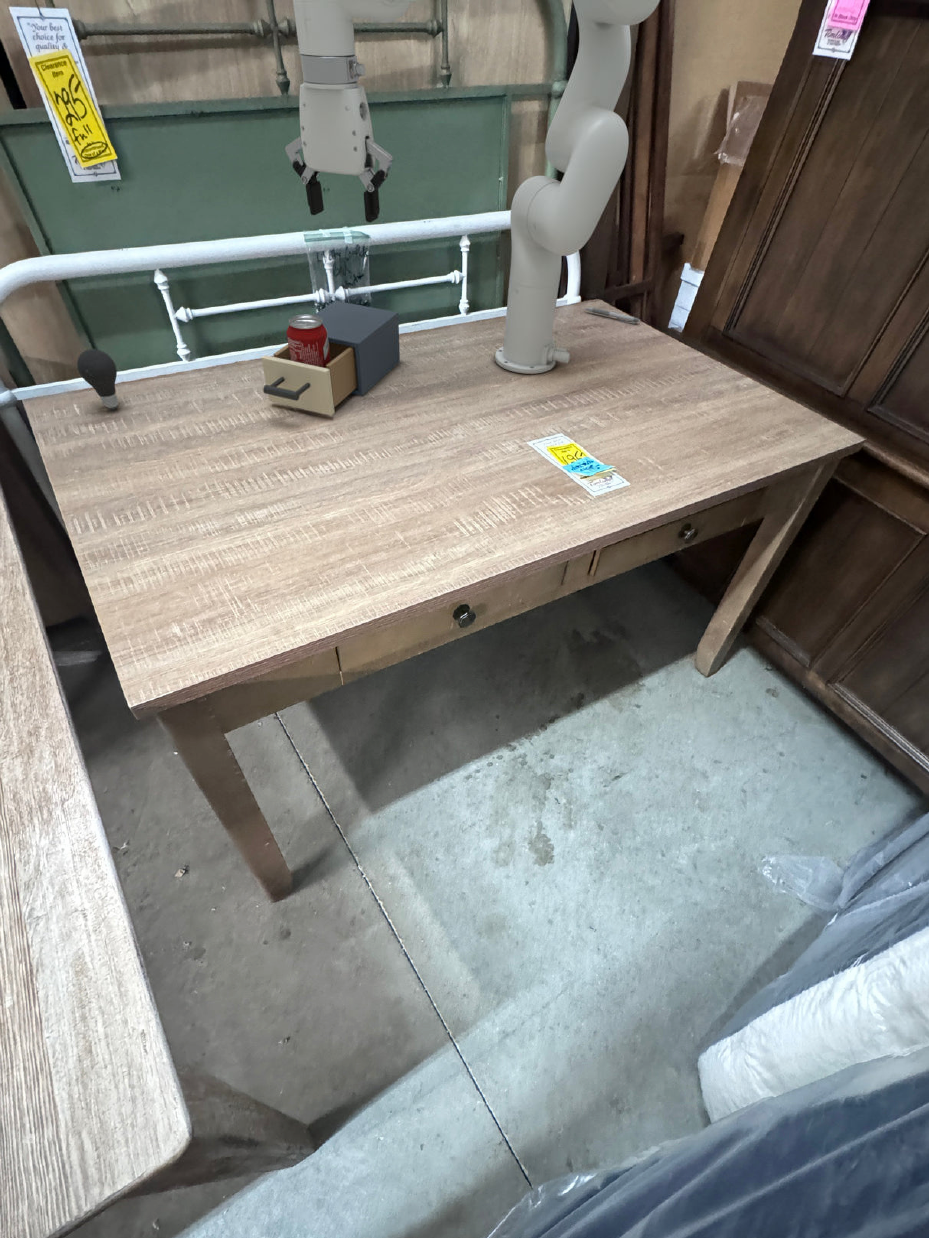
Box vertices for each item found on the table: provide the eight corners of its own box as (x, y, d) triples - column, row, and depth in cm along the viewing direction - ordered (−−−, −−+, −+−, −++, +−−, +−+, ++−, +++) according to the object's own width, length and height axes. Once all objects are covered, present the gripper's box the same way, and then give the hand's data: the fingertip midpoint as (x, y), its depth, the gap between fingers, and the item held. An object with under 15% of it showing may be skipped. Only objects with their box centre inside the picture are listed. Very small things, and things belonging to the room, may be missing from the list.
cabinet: (362, 396, 114) (358, 343, 107) (298, 381, 117) (290, 329, 110) (399, 362, 125) (398, 312, 118) (340, 349, 128) (335, 300, 121)
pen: (638, 325, 145) (640, 319, 144) (583, 312, 149) (584, 306, 148) (640, 324, 145) (641, 318, 144) (584, 311, 149) (585, 305, 148)
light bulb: (94, 403, 108) (71, 345, 100) (129, 398, 109) (108, 341, 102) (95, 418, 104) (70, 359, 97) (131, 413, 106) (109, 355, 99)
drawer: (316, 429, 103) (309, 384, 97) (252, 414, 106) (242, 369, 100) (371, 380, 117) (368, 338, 111) (314, 367, 119) (308, 326, 114)
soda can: (326, 401, 108) (317, 330, 99) (289, 395, 108) (277, 325, 100) (339, 384, 112) (331, 315, 104) (304, 379, 113) (294, 311, 104)
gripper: (398, 73, 85) (404, 217, 98) (289, 66, 89) (308, 205, 101) (374, 79, 80) (384, 229, 93) (260, 71, 84) (284, 216, 96)
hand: (344, 216), depth 97 cm, fingers open, 9 cm apart
